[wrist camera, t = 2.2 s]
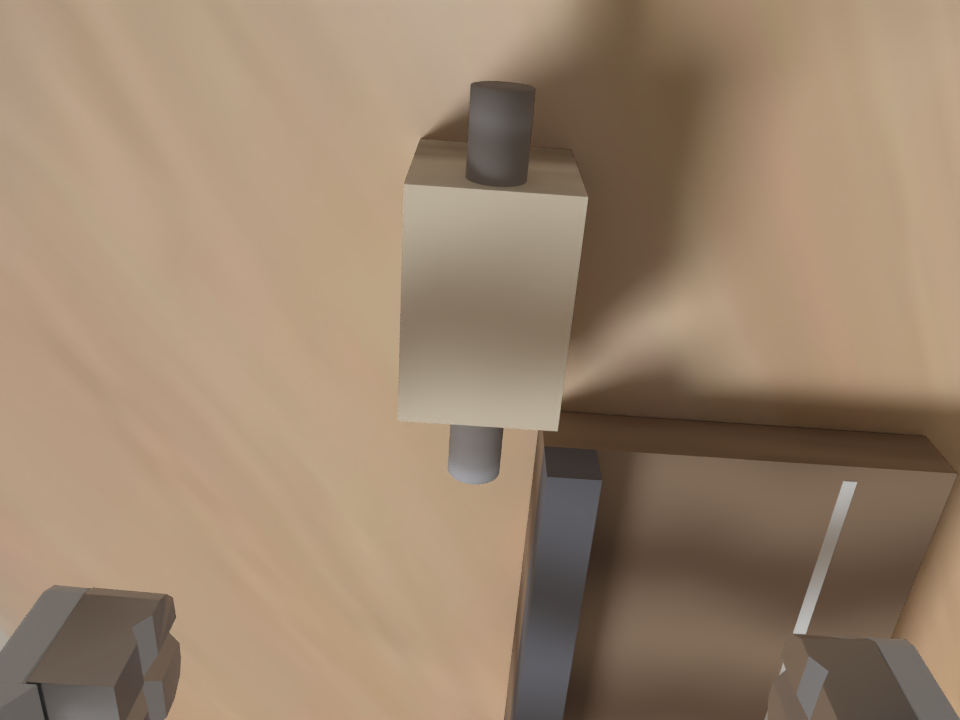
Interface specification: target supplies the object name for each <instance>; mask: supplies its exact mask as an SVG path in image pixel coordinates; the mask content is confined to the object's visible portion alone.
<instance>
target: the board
mask: <svg viewBox="0 0 960 720" xmlns="http://www.w3.org/2000/svg"><path fill="white" fill-rule="evenodd" d="M957 475H958V473H957V472H956V471H955V470H954V469H953V468H952V466H951V465H950V464H949V463H948V462H947V461H946V459H945V458H944V457H943V456H942V455H941V454H940V452H939V451H938V450H937V449H936V448H935V447H934V445H933V444H932V443H931V442H930V441H929V440H928V438H927V437H926V436H915V435H900V434H885V433H870V432H855V431H840V430H825V429H810V428H796V427H781V426H766V425H751V424H736V423H721V422H706V421H691V420H677V419H662V418H647V417H632V416H617V415H602V414H587V413H572V412H560V417H559V425H558V431H544V430H538V438H537V446H536V455H535V463H534V472H533V480H532V489H531V497H530V506H529V514H528V522H527V531H526V539H525V548H524V556H523V565H522V573H521V582H520V590H519V598H518V607H517V615H516V624H515V632H514V641H513V649H512V657H511V666H510V674H509V683H508V691H507V700H506V708H505V717H504V720H768V697H769V693H770V689H771V685H772V681H773V680H774V679H775V678H776V677H778V676H779V675H780V674H781V673H783V672H784V671H785V670H786V668H785V666H784V663H783V661H782V658H781V656H780V655H781V652H782V649H783V646H784V643H785V640H786V639H787V638H788V637H789V636H790V634H809V635H827V636H846V637H862V638H867V637H871V638H891V637H892V634H893V632H894V629H895V627H896V624H897V622H898V619H899V617H900V614H901V612H902V610H903V607H904V605H905V602H906V600H907V597H908V595H909V592H910V590H911V587H912V585H913V583H914V580H915V578H916V575H917V573H918V570H919V568H920V565H921V563H922V560H923V558H924V556H925V553H926V551H927V548H928V546H929V543H930V541H931V538H932V536H933V533H934V531H935V529H936V526H937V524H938V521H939V519H940V516H941V514H942V511H943V509H944V506H945V504H946V502H947V499H948V497H949V494H950V492H951V489H952V487H953V484H954V482H955V479H956V477H957Z"/></svg>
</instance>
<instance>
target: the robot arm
mask: <svg viewBox="0 0 960 720" xmlns="http://www.w3.org/2000/svg"><path fill="white" fill-rule="evenodd" d="M175 618H176V614H175V608H174V602H173V598H172V597H171V596H169V595H168V594H160V593H149V592H137V591H126V590H114V589H103V588H92V589H91V588H81V587H70V586H60V585H54V586H52V587H51V588H49V589H47V590H46V591H44V592H43V593H42V595H41V596H40V597H39V599H38V600H37V602H36V603H35V604H34V606H33V607H32V608H31V610H30V611H29V613H28V614H27V615H26V617H25V618H24V619H23V621H22V622H21V624H20V625H19V626H18V628H17V629H16V631H15V632H14V633H13V635H12V636H11V637H10V639H9V640H8V642H7V643H6V644H5V646H4V647H3V649H2V650H1V652H0V720H164V719H165V718H166V717H167V715H168V713H169V710H170V708H171V705H172V703H173V701H174V698H175V694H176V690H177V685H178V681H179V677H180V663H181V655H180V645H179V642H178V641H177V640H176V639H175V638H174V637H173V636H172V635H171V634H170V633H169V631H170V629H171V627H172V625H173V623H174V620H175ZM780 656H781V658H782V661H783V663H784V666H785V668H786V670H785V671H784V672H783V673H781V674H780V675H779V676H778V677H776V678H775V679H774V680H773V681H772V685H771V689H770V693H769V697H768V720H960V719H959V717H958V715H957V714H956V712H955V711H954V709H953V707H952V706H951V704H950V703H949V701H948V699H947V698H946V696H945V695H944V693H943V691H942V690H941V688H940V687H939V685H938V683H937V682H936V680H935V679H934V677H933V675H932V674H931V672H930V671H929V669H928V667H927V666H926V664H925V662H924V661H923V659H922V658H921V656H920V654H919V653H918V651H917V650H916V648H915V647H914V645H913V644H911V643H910V642H909V641H907V640H906V639H892V638H871V637H867V638H862V637H846V636H827V635H809V634H790V636H789V637H788V638H787V639H786V640H785V643H784V646H783V649H782V652H781V655H780Z"/></svg>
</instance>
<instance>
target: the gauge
mask: <svg viewBox="0 0 960 720" xmlns="http://www.w3.org/2000/svg"><path fill="white" fill-rule="evenodd" d="M535 90H536V89H535V88H534V87H531V86H528V85H524V84H519V83H511V82H500V81H481V82H474V83H472V84H471V91H470V108H469V124H468V141H467V142H458V141H444V140H430V139H420V141H419V143H418V146H417V149H416V152H415V154H414V157H413V160H412V163H411V166H410V168H409V171H408V174H407V177H406V179H405V182H404V195H403V235H402V274H401V314H400V354H399V393H398V421H407V422H422V423H438V424H450V441H449V458H448V471H449V473H450V475H451V476H452V477H453V478H455V479H456V480H458V481H460V482H463V483H467V484H485V483H488V482H491V481H493V480H494V479H495V478H496V477H497V476H498V475H499V469H500V458H501V448H502V437H503V428H514V429H529V430H544V431H558V425H559V417H560V410H561V402H562V394H563V387H564V379H565V372H566V364H567V356H568V349H569V341H570V333H571V326H572V318H573V311H574V303H575V295H576V288H577V280H578V272H579V265H580V257H581V250H582V242H583V234H584V227H585V219H586V211H587V204H588V195H587V192H586V189H585V186H584V183H583V181H582V178H581V175H580V172H579V169H578V167H577V164H576V161H575V158H574V155H573V153H572V150H569V149H555V148H541V147H530V143H531V132H532V122H533V111H534V101H535Z"/></svg>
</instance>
